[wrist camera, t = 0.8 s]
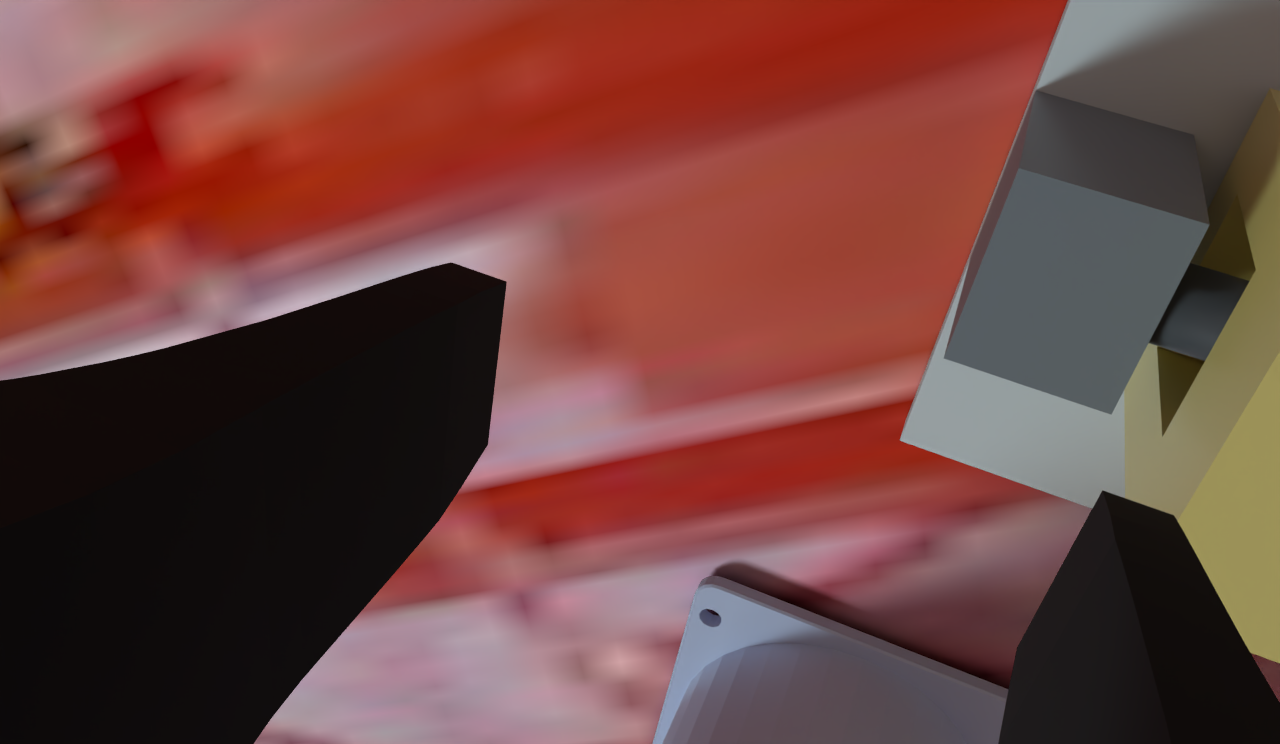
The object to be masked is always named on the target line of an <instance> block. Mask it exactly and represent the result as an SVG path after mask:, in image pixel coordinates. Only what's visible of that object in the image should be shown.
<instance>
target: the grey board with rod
mask: <svg viewBox="0 0 1280 744" xmlns="http://www.w3.org/2000/svg"><path fill="white" fill-rule="evenodd" d="M1270 88H1271V89H1275V90H1278V91H1280V0H1068V2H1067V4H1066V7H1065V10H1064V12H1063V15H1062V17H1061V20H1060V23H1059V25H1058V28H1057V30H1056V33H1055V35H1054V38H1053V41H1052V43H1051V46H1050V48H1049V51H1048V54H1047V56H1046V59H1045V61H1044V64H1043V66H1042V69H1041V72H1040V74H1039V77H1038V79H1037V82H1036V85H1035V87H1034V90H1033V92H1032V95H1031V98H1030V100H1029V103H1028V105H1027V108H1026V110H1025V113H1024V116H1023V118H1022V121H1021V123H1020V126H1019V129H1018V131H1017V134H1016V136H1015V139H1014V141H1013V144H1012V147H1011V149H1010V152H1009V154H1008V157H1007V160H1006V162H1005V165H1004V167H1003V170H1002V172H1001V175H1000V178H999V180H998V183H997V185H996V188H995V191H994V193H993V196H992V198H991V201H990V204H989V206H988V209H987V211H986V214H985V216H984V219H983V222H982V224H981V227H980V229H979V232H978V235H977V237H976V240H975V242H974V245H973V247H972V250H971V253H970V255H969V258H968V260H967V263H966V266H965V268H964V271H963V273H962V276H961V278H960V281H959V284H958V286H957V289H956V291H955V294H954V297H953V299H952V302H951V304H950V307H949V310H948V312H947V315H946V317H945V320H944V322H943V325H942V328H941V330H940V333H939V335H938V338H937V341H936V343H935V346H934V348H933V351H932V353H931V356H930V359H929V361H928V364H927V366H926V369H925V372H924V374H923V377H922V379H921V382H920V384H919V387H918V390H917V392H916V395H915V397H914V400H913V403H912V405H911V408H910V410H909V413H908V416H907V418H906V421H905V425H904V428H903V431H902V435H901V438H900V441H903V442H905V443H908V444H911V445H914V446H917V447H920V448H922V449H925V450H928V451H931V452H934V453H936V454H939V455H942V456H945V457H948V458H951V459H953V460H956V461H959V462H962V463H965V464H967V465H970V466H973V467H976V468H979V469H982V470H984V471H987V472H990V473H993V474H996V475H999V476H1001V477H1004V478H1007V479H1010V480H1013V481H1015V482H1018V483H1021V484H1024V485H1027V486H1030V487H1032V488H1035V489H1038V490H1041V491H1044V492H1046V493H1049V494H1052V495H1055V496H1058V497H1061V498H1063V499H1066V500H1069V501H1072V502H1075V503H1078V504H1080V505H1083V506H1086V507H1089V508H1092V509H1093V507H1094V505H1095V503H1096V501H1097V499H1098V498H1099V496H1100V494H1101V492H1102V490H1103V491H1106V492H1109V493H1112V494H1115V495H1117V496H1120V497H1123V498H1125V420H1124V389H1125V388H1126V386H1127V384H1128V382H1129V380H1130V378H1131V376H1132V374H1133V372H1134V370H1135V368H1136V366H1137V364H1138V362H1139V361H1140V359H1141V357H1142V355H1143V353H1144V351H1145V349H1146V347H1147V345H1148V343H1150V344H1153V345H1156V346H1159V347H1163V348H1166V349H1169V350H1172V351H1175V352H1178V353H1181V354H1184V355H1187V356H1191V357H1194V358H1197V359H1200V360H1203V361H1205V360H1206V358H1207V357H1208V355H1209V353H1210V351H1211V350H1212V348H1213V346H1214V344H1215V342H1216V341H1217V339H1218V337H1219V335H1220V333H1221V332H1222V330H1223V328H1224V326H1225V324H1226V323H1227V321H1228V319H1229V317H1230V316H1231V314H1232V312H1233V310H1234V308H1235V307H1236V305H1237V303H1238V301H1239V299H1240V298H1241V296H1242V294H1243V292H1244V290H1245V289H1246V287H1247V285H1248V283H1249V282H1250V281H1248V280H1245V279H1242V278H1238V277H1235V276H1232V275H1229V274H1225V273H1222V272H1219V271H1215V270H1212V269H1209V268H1206V267H1202V266H1199V265H1196V264H1192V263H1190V262H1191V260H1192V258H1193V256H1194V254H1195V252H1196V250H1197V248H1198V247H1199V245H1200V243H1201V241H1202V239H1203V237H1204V235H1205V233H1206V231H1207V229H1208V227H1209V225H1210V223H1209V217H1208V212H1207V210H1208V208H1209V206H1210V204H1211V202H1212V200H1213V198H1214V196H1215V194H1216V192H1217V190H1218V188H1219V186H1220V185H1221V183H1222V181H1223V179H1224V177H1225V175H1226V173H1227V171H1228V169H1229V167H1230V165H1231V163H1232V161H1233V159H1234V157H1235V155H1236V153H1237V151H1238V149H1239V147H1240V145H1241V143H1242V142H1243V140H1244V138H1245V136H1246V134H1247V132H1248V130H1249V128H1250V126H1251V124H1252V122H1253V120H1254V118H1255V116H1256V114H1257V112H1258V110H1259V108H1260V106H1261V104H1262V102H1263V101H1264V99H1265V97H1266V95H1267V93H1268V91H1269V89H1270Z"/></svg>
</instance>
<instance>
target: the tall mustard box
mask: <svg viewBox="0 0 1280 744" xmlns="http://www.w3.org/2000/svg"><path fill="white" fill-rule="evenodd" d="M1207 212H1208V217H1209V223H1210V225H1209V227H1208V229H1207V231H1206V233H1205V235H1204V237H1203V239H1202V241H1201V243H1200V245H1199V247H1198V248H1197V250H1196V252H1195V254H1194V256H1193V258H1192V260H1191V262H1190V263H1192V264H1196V265H1199V266H1202V267H1206V268H1209V269H1212V270H1215V271H1219V272H1222V273H1225V274H1229V275H1232V276H1235V277H1238V278H1242V279H1245V280H1248V281H1250V282H1249V283H1248V285H1247V287H1246V289H1245V290H1244V292H1243V294H1242V296H1241V298H1240V299H1239V301H1238V303H1237V305H1236V307H1235V308H1234V310H1233V312H1232V314H1231V316H1230V317H1229V319H1228V321H1227V323H1226V324H1225V326H1224V328H1223V330H1222V332H1221V333H1220V335H1219V337H1218V339H1217V341H1216V342H1215V344H1214V346H1213V348H1212V350H1211V351H1210V353H1209V355H1208V357H1207V358H1206V360H1205V361H1203V360H1200V359H1197V358H1194V357H1191V356H1187V355H1184V354H1181V353H1178V352H1175V351H1172V350H1169V349H1166V348H1163V347H1159V346H1156V345H1153V344H1150V343H1148V345H1147V347H1146V349H1145V351H1144V353H1143V355H1142V357H1141V359H1140V361H1139V362H1138V364H1137V366H1136V368H1135V370H1134V372H1133V374H1132V376H1131V378H1130V380H1129V382H1128V384H1127V386H1126V388H1125V389H1124V420H1125V498H1126V499H1129V500H1132V501H1135V502H1138V503H1140V504H1143V505H1146V506H1149V507H1152V508H1155V509H1158V510H1160V511H1163V512H1166V513H1169V514H1172V515H1174V516H1175V518H1176V519H1177V521H1178V523H1179V524H1180V526H1181V528H1182V530H1183V531H1184V533H1185V535H1186V537H1187V539H1188V540H1189V542H1190V544H1191V546H1192V548H1193V549H1194V551H1195V553H1196V555H1197V557H1198V559H1199V560H1200V562H1201V564H1202V566H1203V568H1204V570H1205V572H1206V573H1207V575H1208V577H1209V579H1210V581H1211V583H1212V585H1213V586H1214V588H1215V590H1216V592H1217V594H1218V596H1219V597H1220V599H1221V601H1222V603H1223V605H1224V606H1225V608H1226V610H1227V612H1228V614H1229V616H1230V617H1231V619H1232V621H1233V623H1234V625H1235V626H1236V628H1237V630H1238V632H1239V634H1240V635H1241V637H1242V639H1243V641H1244V642H1245V644H1246V646H1247V648H1248V649H1249V651H1250V653H1253V654H1256V655H1258V656H1261V657H1264V658H1266V659H1269V660H1272V661H1274V662H1277V663H1280V91H1278V90H1275V89H1271V88H1270V89H1269V91H1268V93H1267V95H1266V97H1265V99H1264V101H1263V102H1262V104H1261V106H1260V108H1259V110H1258V112H1257V114H1256V116H1255V118H1254V120H1253V122H1252V124H1251V126H1250V128H1249V130H1248V132H1247V134H1246V136H1245V138H1244V140H1243V142H1242V143H1241V145H1240V147H1239V149H1238V151H1237V153H1236V155H1235V157H1234V159H1233V161H1232V163H1231V165H1230V167H1229V169H1228V171H1227V173H1226V175H1225V177H1224V179H1223V181H1222V183H1221V185H1220V186H1219V188H1218V190H1217V192H1216V194H1215V196H1214V198H1213V200H1212V202H1211V204H1210V206H1209V208H1208V210H1207Z"/></svg>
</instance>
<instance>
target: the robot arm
mask: <svg viewBox="0 0 1280 744" xmlns="http://www.w3.org/2000/svg"><path fill="white" fill-rule="evenodd" d="M505 291H506V281H503V280H500V279H497V278H494V277H491V276H489V275H486V274H483V273H480V272H477V271H474V270H471V269H469V268H466V267H463V266H460V265H457V264H454V263H447V264H443V265H439V266H435V267H431V268H427V269H424V270H420V271H417V272H414V273H411V274H407V275H404V276H401V277H398V278H395V279H392V280H389V281H385V282H382V283H379V284H376V285H373V286H370V287H367V288H364V289H361V290H358V291H355V292H352V293H349V294H346V295H343V296H340V297H337V298H334V299H331V300H327V301H324V302H321V303H318V304H315V305H312V306H309V307H306V308H303V309H299V310H296V311H293V312H290V313H287V314H284V315H281V316H278V317H275V318H271V319H268V320H265V321H261V322H258V323H254V324H250V325H247V326H243V327H240V328H236V329H232V330H229V331H225V332H222V333H218V334H215V335H211V336H207V337H204V338H200V339H197V340H193V341H189V342H186V343H182V344H179V345H175V346H171V347H168V348H164V349H160V350H156V351H152V352H147V353H143V354H139V355H135V356H130V357H126V358H121V359H117V360H112V361H108V362H103V363H98V364H93V365H87V366H82V367H77V368H72V369H67V370H61V371H56V372H51V373H46V374H40V375H34V376H28V377H22V378H16V379H10V380H2V381H0V744H254V742H255V741H256V739H257V738H258V736H259V735H260V734H261V732H262V731H263V729H264V728H265V726H266V725H267V724H268V722H269V721H270V719H271V718H272V717H273V715H274V714H275V713H276V712H277V710H278V709H279V708H280V707H281V705H282V704H283V703H284V701H285V700H286V699H287V698H288V696H289V695H290V694H291V693H292V691H293V690H294V689H295V688H296V686H297V685H298V684H299V683H300V681H301V680H302V679H303V678H304V677H305V675H306V674H307V673H308V672H309V671H310V670H311V669H312V667H313V666H314V665H315V664H316V663H317V662H318V660H319V659H320V658H321V657H322V656H323V655H324V654H325V652H326V651H327V650H328V649H329V648H330V647H331V645H332V644H333V643H334V642H335V641H336V640H337V639H338V637H339V636H340V635H341V634H342V633H343V632H344V631H345V629H346V628H347V627H348V626H349V625H350V624H351V622H352V621H353V620H354V619H355V618H356V617H357V616H358V614H359V613H360V612H361V611H362V610H363V609H364V607H365V606H366V605H367V604H368V603H369V602H370V601H371V599H372V598H373V597H374V596H375V595H376V594H377V593H378V591H379V590H380V589H381V588H382V587H383V586H384V584H385V583H386V582H387V581H388V580H389V579H390V578H391V576H392V575H393V574H394V573H395V572H396V571H397V569H398V568H399V567H400V566H401V565H402V564H403V562H404V561H405V560H406V559H407V558H408V557H409V555H410V554H411V553H412V552H413V551H414V549H415V548H416V547H417V546H418V545H419V544H420V542H421V541H422V540H423V539H424V538H425V537H426V535H427V534H428V533H429V532H430V531H431V529H432V528H433V527H434V526H435V525H436V523H437V522H438V521H439V520H440V518H441V517H442V515H443V514H444V512H445V511H446V509H447V508H448V506H449V505H450V503H451V502H452V500H453V499H454V497H455V496H456V494H457V493H458V491H459V490H460V488H461V487H462V485H463V483H464V482H465V480H466V479H467V477H468V475H469V474H470V472H471V471H472V469H473V467H474V466H475V464H476V463H477V461H478V459H479V458H480V456H481V455H482V453H483V451H484V450H485V448H486V447H487V445H488V438H489V429H490V421H491V412H492V403H493V395H494V386H495V378H496V369H497V360H498V352H499V343H500V334H501V326H502V317H503V308H504V300H505ZM707 609H710V610H714V611H715V612H717V613H718V614H719V616H717V615H713V614H711V613H710V612H708V611H707ZM653 744H1280V702H1279V701H1278V699H1277V697H1276V696H1275V694H1274V692H1273V691H1272V689H1271V687H1270V686H1269V684H1268V682H1267V681H1266V679H1265V677H1264V675H1263V674H1262V672H1261V670H1260V669H1259V667H1258V665H1257V663H1256V662H1255V660H1254V658H1253V657H1252V655H1251V653H1250V651H1249V649H1248V648H1247V646H1246V644H1245V642H1244V641H1243V639H1242V637H1241V635H1240V634H1239V632H1238V630H1237V628H1236V626H1235V625H1234V623H1233V621H1232V619H1231V617H1230V616H1229V614H1228V612H1227V610H1226V608H1225V606H1224V605H1223V603H1222V601H1221V599H1220V597H1219V596H1218V594H1217V592H1216V590H1215V588H1214V586H1213V585H1212V583H1211V581H1210V579H1209V577H1208V575H1207V573H1206V572H1205V570H1204V568H1203V566H1202V564H1201V562H1200V560H1199V559H1198V557H1197V555H1196V553H1195V551H1194V549H1193V548H1192V546H1191V544H1190V542H1189V540H1188V539H1187V537H1186V535H1185V533H1184V531H1183V530H1182V528H1181V526H1180V524H1179V523H1178V521H1177V519H1176V518H1175V516H1174V515H1172V514H1169V513H1166V512H1163V511H1160V510H1158V509H1155V508H1152V507H1149V506H1146V505H1143V504H1140V503H1138V502H1135V501H1132V500H1129V499H1126V498H1123V497H1120V496H1117V495H1115V494H1112V493H1109V492H1106V491H1103V490H1102V492H1101V494H1100V496H1099V498H1098V499H1097V501H1096V503H1095V505H1094V507H1093V509H1092V510H1091V512H1090V514H1089V516H1088V518H1087V520H1086V522H1085V523H1084V525H1083V527H1082V529H1081V531H1080V533H1079V535H1078V536H1077V538H1076V540H1075V542H1074V544H1073V546H1072V547H1071V549H1070V551H1069V553H1068V555H1067V557H1066V559H1065V560H1064V562H1063V564H1062V566H1061V568H1060V570H1059V572H1058V573H1057V575H1056V577H1055V579H1054V581H1053V583H1052V584H1051V586H1050V588H1049V590H1048V592H1047V594H1046V596H1045V597H1044V599H1043V601H1042V603H1041V605H1040V607H1039V609H1038V610H1037V612H1036V614H1035V616H1034V618H1033V620H1032V621H1031V623H1030V625H1029V627H1028V629H1027V631H1026V633H1025V634H1024V636H1023V638H1022V640H1021V642H1020V644H1019V645H1018V647H1017V651H1016V656H1015V661H1014V666H1013V671H1012V676H1011V680H1010V685H1009V690H1008V689H1006V688H1003V687H1001V686H998V685H996V684H993V683H991V682H988V681H986V680H983V679H980V678H978V677H975V676H973V675H970V674H968V673H965V672H963V671H960V670H958V669H955V668H953V667H950V666H947V665H945V664H942V663H940V662H937V661H935V660H932V659H930V658H927V657H925V656H922V655H919V654H917V653H914V652H912V651H909V650H907V649H904V648H902V647H899V646H897V645H894V644H891V643H889V642H886V641H884V640H881V639H879V638H876V637H874V636H871V635H869V634H866V633H863V632H861V631H858V630H856V629H853V628H851V627H848V626H846V625H843V624H841V623H838V622H835V621H833V620H830V619H828V618H825V617H823V616H820V615H818V614H815V613H813V612H810V611H807V610H805V609H802V608H800V607H797V606H795V605H792V604H790V603H787V602H785V601H782V600H779V599H777V598H774V597H772V596H769V595H767V594H764V593H762V592H759V591H757V590H754V589H751V588H749V587H746V586H744V585H741V584H739V583H736V582H734V581H731V580H729V579H726V578H723V577H719V576H708V577H706V578H705V579H703V580H702V581H701V583H700V584H699V586H698V588H697V590H696V592H695V595H694V599H693V602H692V606H691V609H690V613H689V616H688V620H687V624H686V627H685V631H684V634H683V638H682V641H681V645H680V648H679V652H678V655H677V659H676V662H675V666H674V670H673V673H672V677H671V680H670V684H669V687H668V691H667V694H666V698H665V701H664V705H663V709H662V712H661V716H660V719H659V723H658V726H657V730H656V733H655V737H654V740H653Z"/></svg>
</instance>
